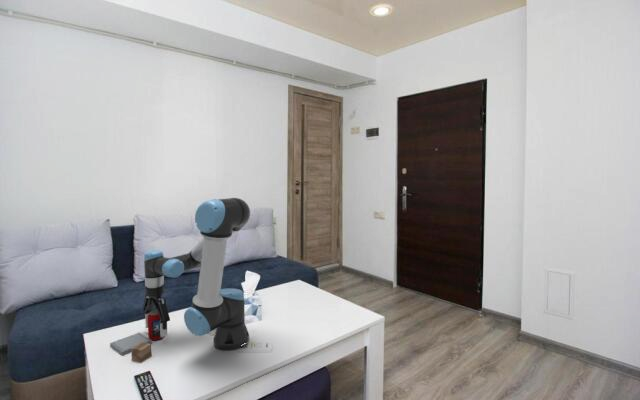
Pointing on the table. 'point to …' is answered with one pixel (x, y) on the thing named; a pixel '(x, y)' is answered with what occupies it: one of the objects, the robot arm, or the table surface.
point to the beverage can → (154, 325)
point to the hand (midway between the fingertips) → (156, 331)
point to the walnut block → (141, 352)
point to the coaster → (129, 343)
